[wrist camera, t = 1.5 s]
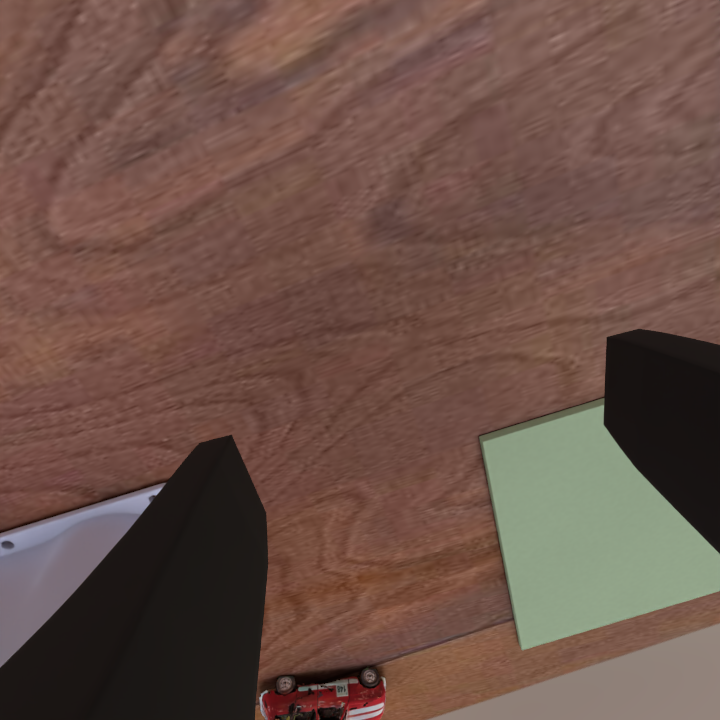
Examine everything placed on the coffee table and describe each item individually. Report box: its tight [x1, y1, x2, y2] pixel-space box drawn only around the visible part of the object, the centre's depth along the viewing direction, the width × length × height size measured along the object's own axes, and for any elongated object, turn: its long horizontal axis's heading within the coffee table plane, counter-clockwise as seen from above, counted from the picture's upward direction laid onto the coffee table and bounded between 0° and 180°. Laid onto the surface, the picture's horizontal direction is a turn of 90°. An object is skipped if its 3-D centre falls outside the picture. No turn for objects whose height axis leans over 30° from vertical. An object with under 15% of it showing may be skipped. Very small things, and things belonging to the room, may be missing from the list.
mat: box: [479, 398, 720, 650], centre depth 26 cm, size 18×18×1 cm
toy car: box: [259, 667, 386, 720], centre depth 28 cm, size 4×8×3 cm, turn 87°
